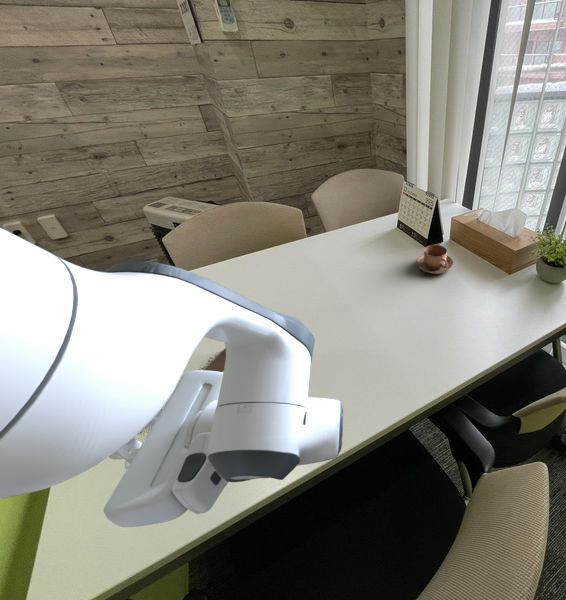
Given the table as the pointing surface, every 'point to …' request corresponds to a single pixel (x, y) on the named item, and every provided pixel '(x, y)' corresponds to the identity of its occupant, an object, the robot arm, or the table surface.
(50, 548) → the table surface
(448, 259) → the cup and saucer
